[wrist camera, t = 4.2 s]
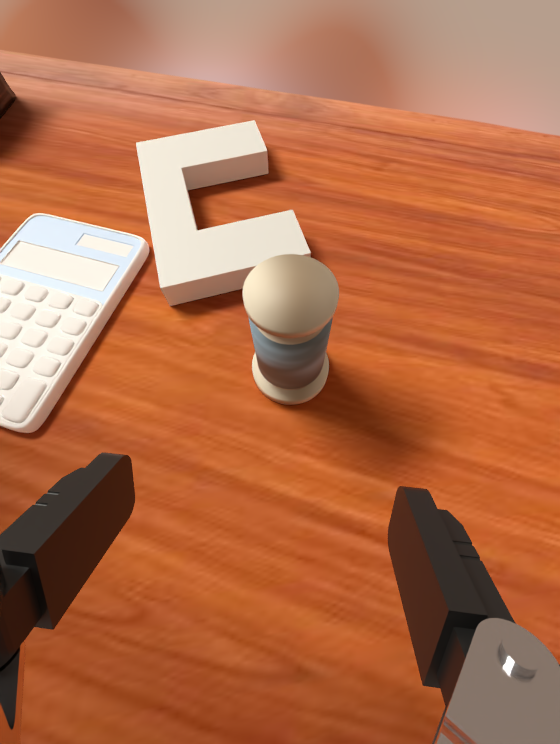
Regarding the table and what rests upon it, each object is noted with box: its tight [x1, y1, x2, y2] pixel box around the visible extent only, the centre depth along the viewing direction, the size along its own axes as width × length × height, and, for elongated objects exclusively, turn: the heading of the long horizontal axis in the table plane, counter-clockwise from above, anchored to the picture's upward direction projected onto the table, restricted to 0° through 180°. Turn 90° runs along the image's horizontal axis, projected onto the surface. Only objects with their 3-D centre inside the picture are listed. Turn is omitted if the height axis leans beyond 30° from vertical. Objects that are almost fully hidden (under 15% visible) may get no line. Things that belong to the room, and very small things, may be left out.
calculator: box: [0, 213, 150, 433], centre depth 30 cm, size 13×20×2 cm, turn 162°
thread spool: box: [243, 254, 339, 405], centre depth 23 cm, size 6×6×10 cm
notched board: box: [136, 120, 311, 306], centre depth 34 cm, size 13×20×2 cm, turn 16°
